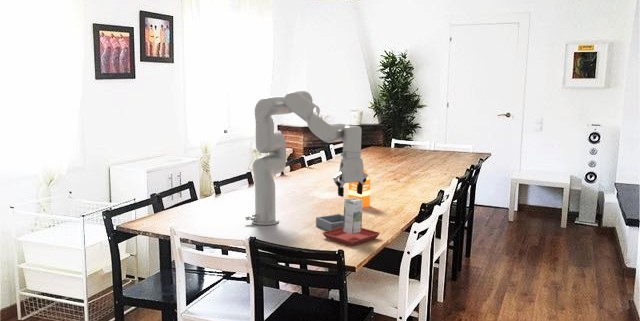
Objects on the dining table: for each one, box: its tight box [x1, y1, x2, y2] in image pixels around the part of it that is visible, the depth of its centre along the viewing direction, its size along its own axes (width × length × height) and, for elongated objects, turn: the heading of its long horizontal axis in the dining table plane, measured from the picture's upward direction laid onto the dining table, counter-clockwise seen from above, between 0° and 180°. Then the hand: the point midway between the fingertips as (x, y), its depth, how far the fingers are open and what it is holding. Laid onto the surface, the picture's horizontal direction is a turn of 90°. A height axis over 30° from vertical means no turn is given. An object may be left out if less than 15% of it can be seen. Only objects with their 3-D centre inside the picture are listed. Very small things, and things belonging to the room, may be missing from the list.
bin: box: [315, 213, 344, 231], centre depth 249 cm, size 13×13×4 cm
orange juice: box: [348, 169, 371, 208], centre depth 291 cm, size 8×9×20 cm
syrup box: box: [343, 197, 364, 234], centre depth 230 cm, size 6×6×14 cm
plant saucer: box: [322, 227, 381, 247], centre depth 231 cm, size 18×18×3 cm
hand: (350, 195), depth 230 cm, fingers open, 9 cm apart
